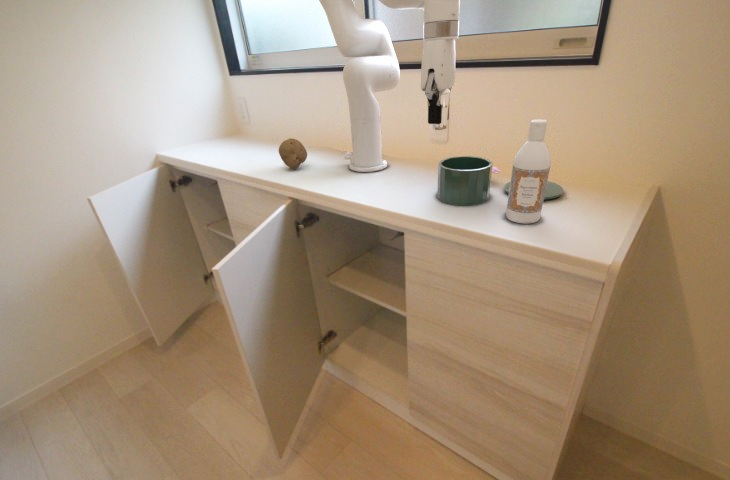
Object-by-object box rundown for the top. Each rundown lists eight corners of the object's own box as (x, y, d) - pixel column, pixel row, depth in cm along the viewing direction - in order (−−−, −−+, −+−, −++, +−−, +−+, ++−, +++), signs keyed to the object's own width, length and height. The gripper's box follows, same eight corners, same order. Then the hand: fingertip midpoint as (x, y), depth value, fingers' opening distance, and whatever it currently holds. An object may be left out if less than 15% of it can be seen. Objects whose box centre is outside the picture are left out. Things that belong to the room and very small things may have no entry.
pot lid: (498, 197, 90) (501, 171, 86) (510, 181, 100) (514, 156, 96) (558, 205, 83) (564, 176, 80) (565, 186, 93) (571, 160, 90)
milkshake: (426, 127, 91) (425, 83, 86) (447, 125, 90) (448, 81, 85) (428, 131, 87) (428, 85, 82) (450, 129, 87) (452, 83, 81)
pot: (429, 201, 91) (430, 167, 86) (447, 185, 100) (449, 154, 95) (480, 208, 85) (483, 172, 80) (494, 191, 94) (498, 158, 89)
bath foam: (504, 222, 77) (518, 124, 67) (506, 210, 83) (519, 117, 72) (539, 226, 75) (560, 124, 65) (539, 213, 80) (558, 117, 70)
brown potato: (302, 163, 129) (298, 134, 124) (313, 168, 123) (309, 138, 117) (278, 168, 125) (272, 139, 120) (288, 174, 119) (283, 143, 113)
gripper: (439, 34, 86) (436, 116, 96) (408, 34, 74) (409, 128, 84) (470, 30, 83) (464, 116, 92) (443, 30, 71) (440, 129, 80)
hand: (438, 121), depth 88 cm, fingers closed on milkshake, 4 cm apart
